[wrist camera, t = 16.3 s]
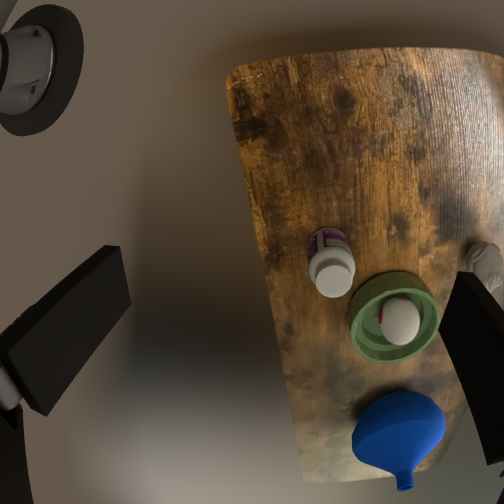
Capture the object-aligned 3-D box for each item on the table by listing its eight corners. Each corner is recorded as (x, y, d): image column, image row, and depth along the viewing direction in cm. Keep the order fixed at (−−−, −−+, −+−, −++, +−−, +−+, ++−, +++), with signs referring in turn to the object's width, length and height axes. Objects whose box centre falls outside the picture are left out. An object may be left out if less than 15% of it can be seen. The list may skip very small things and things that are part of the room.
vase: (370, 438, 58) (373, 510, 41) (334, 401, 54) (334, 489, 37) (444, 407, 51) (462, 480, 34) (423, 361, 47) (448, 451, 30)
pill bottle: (323, 270, 42) (325, 311, 34) (300, 241, 41) (298, 277, 33) (356, 249, 40) (367, 287, 32) (334, 218, 39) (341, 250, 30)
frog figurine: (456, 277, 39) (474, 303, 33) (459, 234, 37) (481, 256, 30) (487, 271, 38) (508, 295, 32) (492, 229, 35) (516, 249, 29)
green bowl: (340, 340, 47) (342, 362, 43) (355, 266, 41) (360, 285, 37) (416, 342, 45) (423, 363, 41) (439, 272, 40) (451, 290, 35)
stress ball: (376, 281, 45) (356, 308, 41) (424, 284, 39) (409, 314, 35) (383, 321, 47) (365, 348, 43) (428, 326, 41) (413, 357, 37)
